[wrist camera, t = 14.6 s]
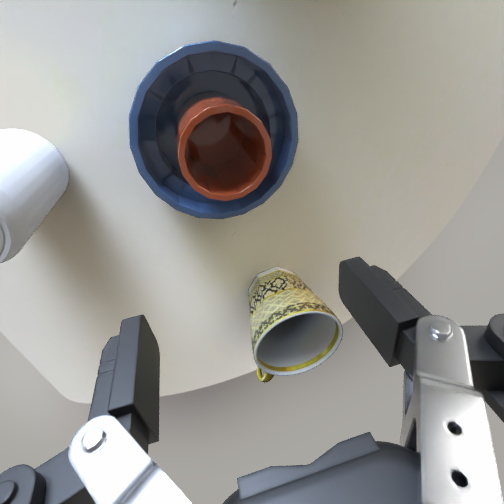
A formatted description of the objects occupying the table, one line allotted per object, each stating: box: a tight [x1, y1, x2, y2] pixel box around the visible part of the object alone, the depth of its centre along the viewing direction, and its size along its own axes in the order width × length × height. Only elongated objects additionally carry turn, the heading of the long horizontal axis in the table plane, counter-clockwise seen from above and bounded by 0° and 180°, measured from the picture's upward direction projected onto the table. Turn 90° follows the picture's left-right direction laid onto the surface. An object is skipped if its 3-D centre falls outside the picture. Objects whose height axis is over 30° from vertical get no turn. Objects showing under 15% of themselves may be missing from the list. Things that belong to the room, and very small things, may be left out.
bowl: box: [129, 41, 298, 219], centre depth 26 cm, size 13×13×5 cm
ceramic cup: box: [248, 267, 343, 382], centre depth 37 cm, size 13×10×10 cm
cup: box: [175, 92, 272, 201], centre depth 24 cm, size 6×6×8 cm
